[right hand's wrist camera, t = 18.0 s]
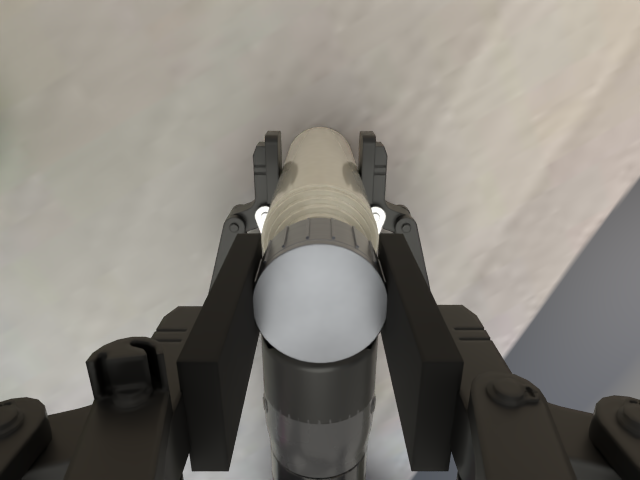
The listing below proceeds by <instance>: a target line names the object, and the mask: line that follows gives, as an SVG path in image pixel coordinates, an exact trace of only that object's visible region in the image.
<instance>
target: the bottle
mask: <svg viewBox="0 0 640 480" xmlns="http://www.w3.org/2000/svg"><path fill="white" fill-rule="evenodd" d="M307 218H310V219H311V218H329V219H331V218H334V219H335V220H339V221H342V222H344V223H347V224H349V225H351V226H355V228H356V229H357V230H359V231H360V232H361V233H362V234H363V235H364V236H365V237H366V238H367V239H368V240H371V242H372V245H373V248H374V250H375V252H376V253H377V249H378V243H379V234H378V227H377V223H376V220H375V217H374V214H373V212H372V209H371V206H370V203H369V200H368V197H367V194H366V191H365V189H364V186H363V183H362V180H361V177H360V174H359V171H358V168H357V166H356V163H355V160H354V157H353V154H352V151H351V148H350V146H349V144H348V142H347V141H346V139H345V138H344V137H343V136H342V135H341V134H340V133H338V132H337V131H335V130H333V129H330V128H326V127H314V128H310V129H307V130H305V131H303V132H302V133H300V134H299V135H298V136H297V137H296V138H295V139H294V141H293V142H292V144H291V146H290V148H289V151H288V154H287V157H286V160H285V163H284V166H283V169H282V171H281V174H280V177H279V180H278V183H277V186H276V189H275V192H274V195H273V197H272V200H271V203H270V206H269V209H268V212H267V215H266V218H265V221H264V224H263V228H262V235H261V240H262V248H263V253H265V250H266V248H267V246H268V243H269V241H270V240H271V241H272V239H273V238H274V237H275V236H276V235H277V234H278V233H279V232H280V231H282V230H283V229H284V228H285V226H287V225H288V226H290V225H291V224H293V223H296V222H298V221H302V220H305V219H307Z"/></svg>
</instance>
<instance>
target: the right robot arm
mask: <svg viewBox="0 0 640 480" xmlns="http://www.w3.org/2000/svg"><path fill="white" fill-rule="evenodd" d="M261 259H262V243H261V234H237V235H236V237H235V239H234V242H233V244H232V246H231V248H230V250H229V252H228V254H227V256H226V258H225V260H224V262H223V265H222V267H221V269H220V271H219V273H218V275H217V277H216V279H215V281H214V283H213V286H212V288H211V290H210V292H209V294H208V296H207V298H206V300H205V302H204V304H203V306H178V307H177V308H175V309H174V310H173V311H171V312H170V313H169V314H167V315H166V316H165V317H164V318H163V319H162V321H161V323H160V324H159V326H158V328H157V329H156V330H157V331H156V332H154V334H153V336H152V337H151V338H148V337H129V338H124V339H119V340H116V341H114V342H111V343H109V344H106V345H104V346H102V347H101V348H99V349H98V350H96V351H95V352H94V353H92V355H91V356H90V357H89V358H88V360H87V361H86V365H87V370H88V374H89V378H90V382H91V387H92V391H93V395H94V402H93V404H92V405H89V406H86V407H83V408H79V409H75V410H70V411H66V412H61V413H57V414H52V415H47V412H46V408H45V405H43V404H42V403H41V402H40V401H39V400H37V399H33V398H28V397H24V398H14V399H9V400H6V401H2V402H0V480H183V470H184V467H185V464H186V461H187V458H188V455H189V454H190V461H191V468H192V471H229V467H230V463H231V458H232V454H233V449H234V445H235V440H236V436H237V431H238V427H239V422H240V418H241V413H242V409H243V404H244V400H245V395H246V391H247V386H248V382H249V377H250V373H251V368H252V364H253V359H254V355H255V350H256V346H257V341H258V337H259V332H260V331H259V329H258V327H257V325H256V322H255V320H254V307H253V290H254V286H255V282H254V281H255V278H256V274H257V271H258V268H259V264H260V261H261ZM378 259H379V260H380V264H381V267H382V271H383V274H384V277H385V281H386V288H387V292H388V295H387V312H386V321H385V323H384V326H383V328H382V329H381V336H382V340H383V345H384V349H385V354H386V358H387V363H388V367H389V372H390V376H391V381H392V385H393V390H394V394H395V399H396V403H397V408H398V412H399V417H400V421H401V426H402V430H403V435H404V439H405V444H406V448H407V453H408V457H409V462H410V466H411V471H448V470H449V463H450V456H451V452H452V454H453V457H454V460H455V463H456V466H457V469H458V473H457V480H640V400H638V399H635V398H632V397H625V396H615V395H614V396H609V397H604V398H602V399H601V400H600V401H599V402H598V403H597V404H596V406H595V410H594V413H593V414H592V413H587V412H583V411H578V410H574V409H569V408H565V407H561V406H557V405H554V404H550V403H548V402H547V401H546V398H545V397H544V395H543V394H542V393H541V391H540V390H539V389H538V388H537V387H536V386H535V385H533V384H532V383H531V382H529V381H528V380H526V379H524V378H521V377H519V376H517V375H515V374H512V373H511V371H510V369H509V368H508V366H507V365H506V363H505V361H504V360H503V358H502V356H501V355H500V353H499V351H498V350H497V348H496V346H495V345H494V343H493V342H492V341H491V340H490V337H489V335H488V333H487V332H486V330H484V327H483V325H482V324H481V322H480V320H479V319H478V317H477V315H475V314H474V313H472V312H471V311H470V310H468V309H467V308H466V307H464V306H463V305H437V304H436V302H435V300H434V298H433V295H432V293H431V291H430V289H429V287H428V285H427V283H426V281H425V279H424V277H423V274H422V272H421V270H420V268H419V266H418V264H417V262H416V260H415V258H414V256H413V253H412V251H411V249H410V247H409V245H408V243H407V241H406V239H405V237H404V235H403V234H379V249H378Z"/></svg>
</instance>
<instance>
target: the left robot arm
mask: <svg viewBox="0 0 640 480" xmlns="http://www.w3.org/2000/svg"><path fill="white" fill-rule="evenodd" d="M253 164H254V183H255V200H254V201H252V202H250V203H248V204H245V205H236V206H235V207H234V208H233V209H232V211H231V212H230V214H229V216H228V218H227V219H226V221H225V223H224V226H223V230H222V235H221V239H220V244H219V248H218V253H217V257H216V262H215V266H214V271H213V275H212V280H211V284H210V289H209V292H210V290H211V288H212V286H213V283H214V281H215V279H216V277H217V275H218V273H219V271H220V269H221V267H222V265H223V262H224V260H225V258H226V256H227V254H228V252H229V250H230V248H231V246H232V244H233V242H234V239H235V237H236V235H237V234H247V231H250V230H253V229H255V228H258V227H259V230H260V232H261V235H262V228H263V224H264V221H265V218H266V215H267V212H268V209H269V206H270V203H271V200H272V197H273V195H274V192H275V189H276V186H277V183H278V180H279V177H280V174H281V171H282V152H281V132H280V131H268V132H267V133H266V134H265V142H259V143H258V145H257V146H256V149H255V151H254V154H253ZM386 166H387V154H386V151H385V148H384V146H383V144H382V143H381V142H376V136H375V134H374V133H373V131H360V136H359V160H358V171H359V174H360V177H361V180H362V183H363V186H364V189H365V191H366V194H367V197H368V200H369V203H370V206H371V209H372V212H373V214H374V217H375V220H376V223H377V227H378V234H380V232H381V229H382V228H383V229H386V230H389V231H392V232H393V234H403V235H404V237H405V239H406V241H407V243H408V245H409V247H410V249H411V251H412V253H413V256H414V258H415V260H416V262H417V264H418V266H419V268H420V270H421V272H422V274H423V277H424V279H425V281H426V283H427V285H428V287H429V289H430V286H429V281H428V276H427V272H426V267H425V262H424V257H423V253H422V248H421V243H420V238H419V234H418V229H417V224H416V222H415V220H414V219H413V218H412V217H411V215H410V212H409V210H408V209H407V207H405V206H404V205H394V204H391V203H389V202H387V201H386V200H385V184H386V168H387V167H386ZM208 294H209V293H208ZM261 337H262V356H263V375H264V397H263V405H264V410H265V414H266V423H267V428H268V432H269V436H270V442H271V462H272V478H273V480H365V476H366V459H367V444H368V438H369V434H370V430H371V425H372V418H373V412H374V409H375V401H376V396H375V394H374V390H375V374H376V358H377V342H378V336H377V337H376V338H375V340H374V341H373V342H372V343H371V344H370V345H369V346H367V347H366V348H365V349H364V350H362V351H360V352H359V353H357V354H355V355H353V356H351V357H349V358H346V359H343V360H340V361H336V362H329V363H311V362H305V361H300V360H297V359H294V358H291V357H289V356H287V355H285V354H283V353H281V352H280V351H278V350H277V349H276V348H274V347H273V346H272V345H271V344H270V343H269V342H268V341H267V340H266V339H265V338H264V337H263V335H262V334H261Z"/></svg>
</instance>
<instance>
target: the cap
mask: <svg viewBox="0 0 640 480" xmlns="http://www.w3.org/2000/svg"><path fill="white" fill-rule="evenodd" d="M254 282H255V286H254V290H253V307H254V320H255V322H256V325H257V327H258V329H259V331H260V332H261V334H262V335H263V337H264V338H265V339H266V340H267V341H268V342H269V343H270V344H271V345H272V346H273V347H274V348H276V349H277V350H278V351H280V352H281V353H283V354H285V355H287V356H289V357H291V358H294V359H297V360H300V361H305V362H311V363H329V362H336V361H340V360H343V359H346V358H349V357H351V356H353V355H355V354H357V353H359V352H360V351H362V350H364V349H365V348H366V347H367V346H369V345H370V344H371V343H372V342H373V341H374V340H375V338H376V337H377V336H378V334H379V333H380V331H381V329H382V328H383V326H384V323H385V321H386V312H387V295H388V292H387V288H386V281H385V277H384V274H383V271H382V267H381V264H380V260H379V259H378V257H377V254H376V252H375V250H374V248H373V245H372V242H371V240H368V239H367V238H366V237H365V236H364V235H363V234H362V233H361V232H360V231H359V230H357V229H356V228H355V226H351V225H349V224H347V223H344V222H342V221H339V220H335V219H334V218H331V219H329V218H311V219H310V218H307V219H305V220H302V221H298V222H296V223H293V224H291V225H290V226H288V225H287V226H285V228H284V229H283V230H282V231H280V232H279V233H278V234H277V235H276V236H275V237H274V238H273V239H272V241H271V240H270V241H269V243H268V246H267V248H266V250H265V253H264V255H263V258H262V259H261V261H260V264H259V268H258V271H257V274H256V278H255V281H254Z"/></svg>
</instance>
